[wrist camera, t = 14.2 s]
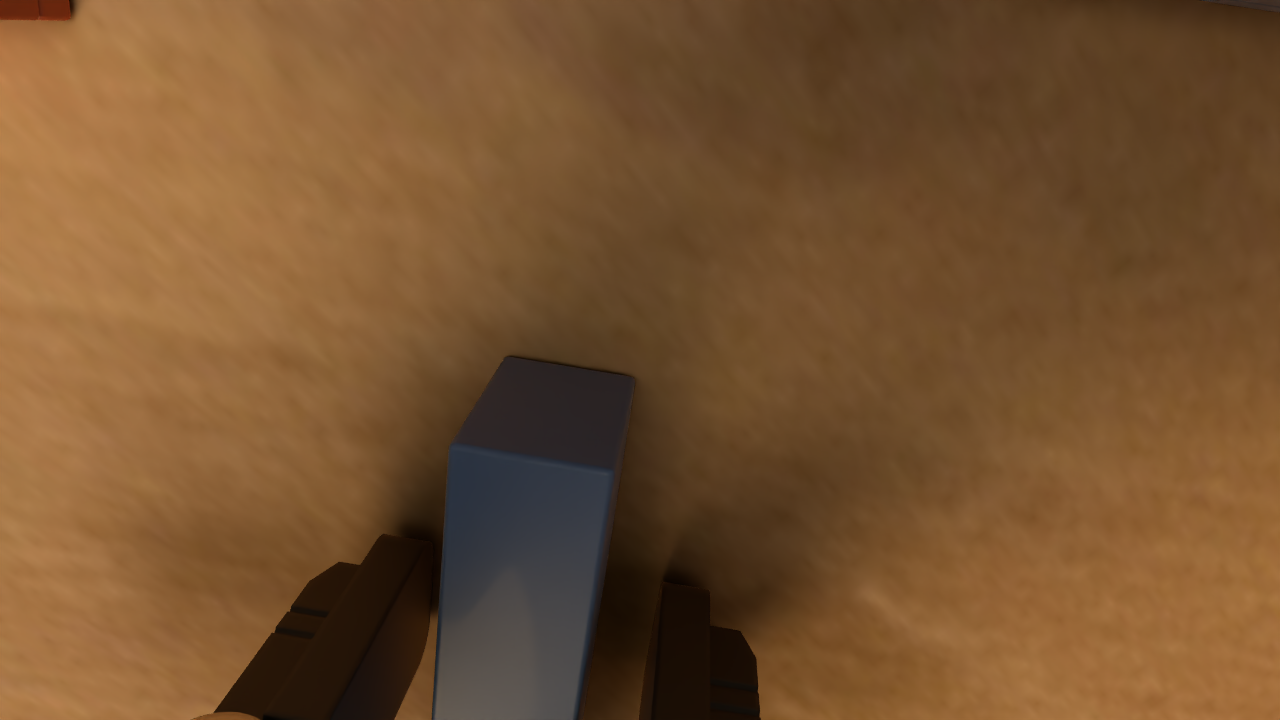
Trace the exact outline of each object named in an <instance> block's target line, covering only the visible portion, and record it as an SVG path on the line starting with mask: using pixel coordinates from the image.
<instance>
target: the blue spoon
mask: <svg viewBox="0 0 1280 720" xmlns="http://www.w3.org/2000/svg"><path fill="white" fill-rule="evenodd" d="M634 388H635V380H634V378H632V377H630V376H624V375H618V374H612V373H606V372H599V371H593V370H587V369H581V368H575V367H569V366H563V365H557V364H551V363H545V362H539V361H533V360H527V359H521V358H515V357H505V358H504V359H503V361H502V363H501V364H500V366H499V367H498V369H497V370H496V372H495V374H494V375H493V377H492V378H491V380H490V382H489V383H488V385H487V386H486V388H485V390H484V391H483V393H482V394H481V396H480V397H479V399H478V401H477V402H476V404H475V405H474V407H473V409H472V410H471V412H470V413H469V415H468V416H467V418H466V420H465V421H464V423H463V424H462V426H461V428H460V429H459V431H458V432H457V434H456V436H455V437H454V439H453V440H452V442H451V444H450V445H449V451H448V467H447V483H446V499H445V515H444V531H443V547H442V564H441V580H440V596H439V612H438V628H437V644H436V660H435V676H434V692H433V708H432V720H583V716H584V709H585V703H586V696H587V690H588V683H589V677H590V671H591V664H592V658H593V651H594V645H595V638H596V632H597V626H598V619H599V613H600V606H601V600H602V593H603V587H604V581H605V574H606V568H607V561H608V555H609V548H610V542H611V536H612V529H613V523H614V516H615V510H616V503H617V497H618V491H619V484H620V478H621V471H622V465H623V459H624V452H625V446H626V439H627V433H628V426H629V420H630V414H631V407H632V401H633V394H634Z"/></svg>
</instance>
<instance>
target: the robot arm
mask: <svg viewBox="0 0 1280 720" xmlns="http://www.w3.org/2000/svg"><path fill="white" fill-rule="evenodd" d="M432 570H433V545H432V543H431V542H428V541H422V540H417V539H411V538H405V537H399V536H393V535H387V534H382V535H381V536H380V537H379V538H378V539H377V541H376V542H375V544H374V545H373V547H372V548H371V550H370V551H369V553H368V554H367V556H366V557H365V559H364V560H363V562H362V563H361V565H356V564H350V563H344V562H338V563H336V564H335V565H333V566H332V567H330V568H329V569H327V570H326V571H324V572H323V573H321V574H320V575H318V576H316V577H315V578H313V579H312V580H310V581H309V582H308V584H307V585H306V587H305V588H304V589H303V591H302V592H301V593H300V595H299V596H298V598H297V599H296V600H295V602H294V603H293V604H292V606H291V609H290V612H288V611H287V613H286V614H285V615H284V617H283V618H282V619H281V621H280V622H279V624H278V625H277V626H276V630H275V632H274V633H271V635H270V636H269V637H268V639H267V640H266V641H265V643H264V644H263V646H262V647H261V648H260V650H259V651H258V652H257V654H256V655H255V657H254V658H253V659H252V661H251V662H250V663H249V665H248V666H247V667H246V669H245V670H244V672H243V673H242V674H241V676H240V677H239V678H238V680H237V681H236V683H235V684H234V685H233V687H232V688H231V689H230V691H229V692H228V694H227V695H226V696H225V698H224V699H223V700H222V702H221V703H220V705H219V706H218V707H217V709H216V710H215V711H214V713H212V714H207V715H203V716H200V717H197V718H194V719H191V720H394V719H395V717H396V714H397V712H398V710H399V708H400V706H401V704H402V701H403V699H404V697H405V695H406V693H407V690H408V688H409V686H410V684H411V682H412V680H413V677H414V675H415V673H416V671H417V669H418V666H419V664H420V661H421V659H422V655H423V652H424V649H425V645H426V641H427V636H428V630H429V622H430V605H431V588H432ZM759 715H760V704H759V693H758V677H757V663H756V657H755V655H754V654H753V652H752V650H751V648H750V647H749V645H748V643H747V642H746V640H745V638H744V636H743V635H742V633H741V631H739V630H733V629H728V628H722V627H716V626H710V591H709V590H708V589H702V588H696V587H690V586H684V585H679V584H673V583H667V582H662V584H661V587H660V592H659V597H658V603H657V608H656V613H655V619H654V624H653V629H652V635H651V640H650V645H649V651H648V656H647V661H646V667H645V673H644V680H643V687H642V694H641V702H640V711H639V720H761V718H759Z"/></svg>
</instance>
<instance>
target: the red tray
mask: <svg viewBox="0 0 1280 720" xmlns="http://www.w3.org/2000/svg"><path fill="white" fill-rule="evenodd" d="M70 16H71V14H70V5H69V0H0V20H57V21H65V20H69V19H70Z"/></svg>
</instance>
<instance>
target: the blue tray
mask: <svg viewBox="0 0 1280 720" xmlns="http://www.w3.org/2000/svg"><path fill="white" fill-rule="evenodd" d="M1201 1H1207V2H1214V3H1220V4H1227V5H1233V6H1240V7H1246V8H1253V9H1259V10H1266V11H1272V12H1279V13H1280V0H1201Z"/></svg>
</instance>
